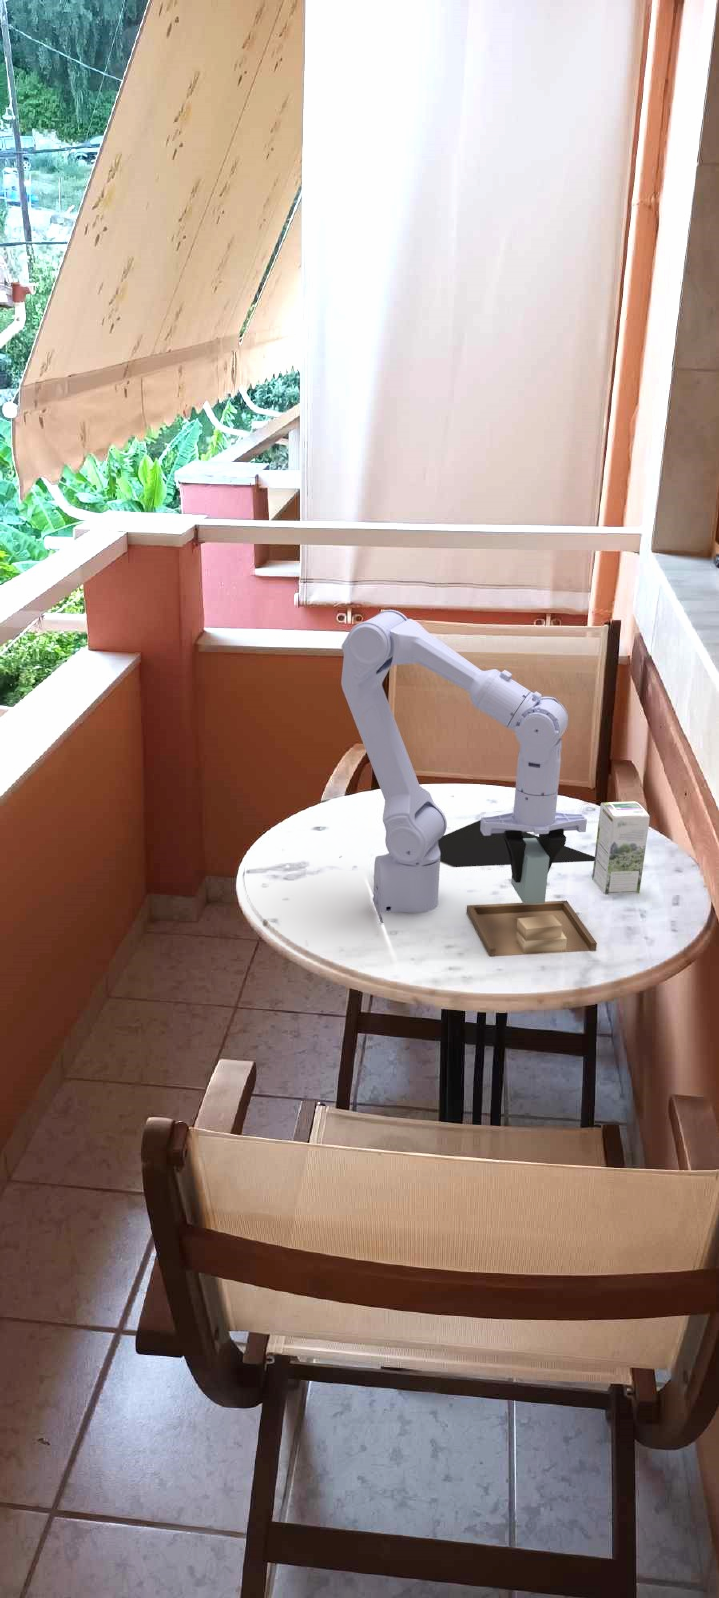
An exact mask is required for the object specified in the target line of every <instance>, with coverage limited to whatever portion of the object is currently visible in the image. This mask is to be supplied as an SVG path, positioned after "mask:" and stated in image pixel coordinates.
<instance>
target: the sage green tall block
mask: <svg viewBox="0 0 719 1598" xmlns="http://www.w3.org/2000/svg"><path fill="white" fill-rule="evenodd" d="M523 840H524V841H525V843H526V847H525V851H524V855H523V861H522V876H521V882H519V883H516V882H515V881H514V879H513V878H512V877H511V880H510V881H511V882H510V884H511V886H512V887H513V889H514V891H515V893H516V894H517V896H518V897H519V899H520V902H521V903H523V904H542V903H545V902H546V894H547V884H548V876H549V875H548V874H549V872H548V866H549V856H548V855H547V853H546V852H545V851H544V849H543V848H542V846H541V845H540V843H539V842H538V841H537V839H536V838H523Z"/></svg>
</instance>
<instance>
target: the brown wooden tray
mask: <svg viewBox="0 0 719 1598" xmlns="http://www.w3.org/2000/svg"><path fill="white" fill-rule="evenodd" d="M466 914H467V916H468V918H469V920H470V923H471V924H472V926H473V928H474V930H475V931H476V934H477V936H478V937H479V939H480V942H481V943H482V945H483V947H484V948H485V950H486V953H487V955H488V956H489V957H502V956H504V957H505V956H506V957H507V956H519V955H520V956H521V955H539V954H540V955H541V954H542V955H543V954H554V953H555V954H558V953H575V952H576V953H577V952H591V951H592V952H594V951H597V945H598V942H597V941H596V940H595V938H594V937H593V935H592V934H591V933H590V931H589V930H588V929H587V927H586V925H585V924H584V923H583V921H582V920H581V918H580V917H579V916H578V914H577V913H576V912H575V910H574V909H573V907H572V906H571V905H570V903H569V901H568V900H551V901H550V900H549V901H545V903H542V904H523V902H510V903H509V902H508V903H507V902H506V903H491V904H490V903H489V904H488V903H487V904H468V905H466ZM546 915H553V916H554V917H555V918H556V919H557V920H558V921H559V922H560V924H561V925H562V932H563V934H564V935H565V937H566V938H567V941H566V950H563V951H545V952H527V953H523V952H522V950H521V948H520V947H519V945H518V943H517V941H516V936H517V918H527V917H537V916H546Z"/></svg>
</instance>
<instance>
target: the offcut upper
mask: <svg viewBox="0 0 719 1598" xmlns="http://www.w3.org/2000/svg"><path fill="white" fill-rule="evenodd" d="M517 931H518V933H519V934H520V935H521V936H522V938H523V939H524V940H525V941H531V940H540V939H549V938H559V937H561V933H562V925H561V924H560V922H559V921H558V920H557V919H556V918H555V917H554V916H553V915H546V916H537V917H527V918H517Z"/></svg>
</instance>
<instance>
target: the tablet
mask: <svg viewBox="0 0 719 1598" xmlns="http://www.w3.org/2000/svg"><path fill="white" fill-rule="evenodd" d="M480 826H481V819H479V820H477V821H474V822H473V823H472V822H471V823H470V824H467V825H466V826H463V827H460V828H458V829H456V830H454V831H451V832H449V833H446V834H444V835H443V837H442V838H441V839H439V840H438V846H439V849H440V864H443V865H446V866H448V867H451V868H468V867H469V868H471V867H472V868H473V867H491V866H511V863H510V858H509V854H508V851H507V848H506V845H505V842H504V840H503V837H502V835H501V833H491V835H488V836H484V835H483V834H482V832H481V830H480ZM522 835H523V838H536V839H537V841H538V842H539V835H536V834H532V833H531V832H522ZM594 858H595V855H592V854H588V853H586V852H583V851H580V850H577V849H574V848H572V847H569V846H566V845H564V846H563V847H562V849H561V850H560V851H559V853H558V854H557V856H556V857H555V859H554V861H553V863H552V864H557V863H558V864H561V863H579V862H580V863H581V862H582V863H583V862H594Z"/></svg>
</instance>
